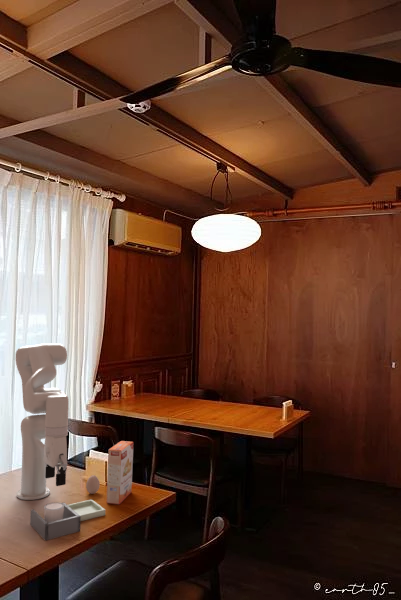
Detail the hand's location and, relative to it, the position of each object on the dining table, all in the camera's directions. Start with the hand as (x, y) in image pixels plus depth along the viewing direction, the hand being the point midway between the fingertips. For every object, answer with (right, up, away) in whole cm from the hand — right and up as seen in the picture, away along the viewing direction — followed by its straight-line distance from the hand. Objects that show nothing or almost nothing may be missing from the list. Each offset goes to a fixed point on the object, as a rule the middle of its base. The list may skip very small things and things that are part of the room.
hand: (55, 481), depth 169 cm
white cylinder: (-1, -16, 0) cm, 16 cm away
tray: (+7, -16, +11) cm, 21 cm away
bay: (+1, -16, -2) cm, 16 cm away
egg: (+6, -17, +31) cm, 36 cm away
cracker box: (+18, -17, +27) cm, 37 cm away
